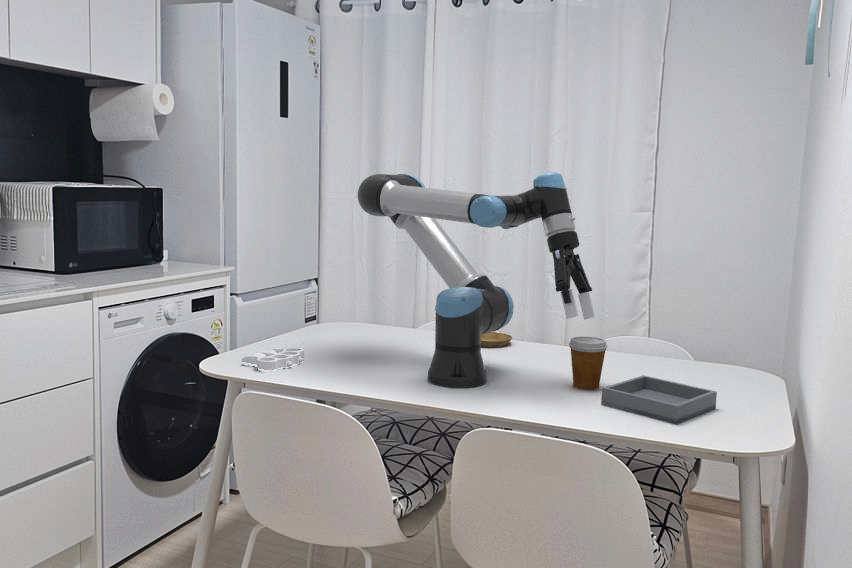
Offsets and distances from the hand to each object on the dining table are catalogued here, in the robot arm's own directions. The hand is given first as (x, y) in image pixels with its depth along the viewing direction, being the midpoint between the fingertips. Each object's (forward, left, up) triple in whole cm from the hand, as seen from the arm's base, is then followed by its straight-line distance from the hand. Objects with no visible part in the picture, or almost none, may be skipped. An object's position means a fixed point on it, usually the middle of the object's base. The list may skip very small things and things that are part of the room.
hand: (581, 317), depth 187 cm
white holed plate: (-71, -41, -19) cm, 84 cm away
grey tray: (+19, +4, -19) cm, 27 cm away
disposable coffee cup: (-2, +6, -19) cm, 20 cm away
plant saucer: (-52, +25, -19) cm, 60 cm away
